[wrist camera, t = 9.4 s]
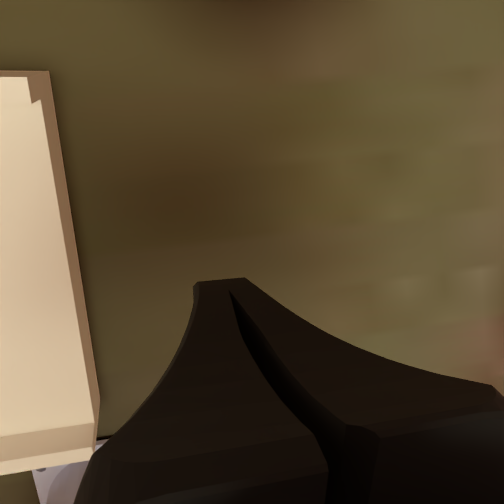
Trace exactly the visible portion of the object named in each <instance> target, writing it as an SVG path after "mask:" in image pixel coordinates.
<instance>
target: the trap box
mask: <svg viewBox="0 0 504 504" xmlns="http://www.w3.org/2000/svg"><path fill="white" fill-rule="evenodd" d="M99 407H100V394H99V388H98V382H97V375H96V369H95V362H94V356H93V350H92V343H91V337H90V330H89V324H88V318H87V311H86V305H85V298H84V292H83V286H82V279H81V273H80V266H79V260H78V254H77V247H76V241H75V234H74V228H73V222H72V215H71V209H70V202H69V196H68V190H67V183H66V177H65V170H64V164H63V158H62V151H61V145H60V138H59V132H58V126H57V119H56V113H55V106H54V100H53V94H52V87H51V81H50V74H49V71H16V70H0V475H5V474H11V473H17V472H23V471H29V470H35V469H41V468H47V467H53V466H58V465H64V464H70V463H76V462H82V461H88V460H90V458H91V456H92V454H93V453H94V452H95V447H96V437H97V427H98V417H99Z"/></svg>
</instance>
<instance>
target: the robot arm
mask: <svg viewBox="0 0 504 504" xmlns="http://www.w3.org/2000/svg"><path fill="white" fill-rule="evenodd" d="M193 296H194V303H193V309H192V312H191V316H190V319H189V323H188V326H187V328H186V331H185V333H184V336H183V338H182V341H181V343H180V346H179V348H178V350H177V352H176V354H175V356H174V358H173V359H172V361H171V363H170V365H169V367H168V368H167V370H166V371H165V373H164V374H163V376H162V378H161V379H160V381H159V382H158V384H157V385H156V387H155V388H154V389H153V391H152V392H151V393H150V395H149V396H148V397H147V399H146V400H145V401H144V402H143V403H142V404H141V406H140V407H139V408H138V409H137V410H136V412H135V413H134V414H133V415H132V416H131V417H130V419H129V420H128V421H127V422H126V423H125V424H124V425H123V426H122V427H121V428H120V429H119V430H118V431H117V432H116V433H115V434H114V435H113V436H112V437H111V438H110V439H105V440H99V441H96V447H95V452H94V453H93V454H92V456H91V458H90V460H88V461H82V462H76V463H70V464H64V465H58V466H53V467H47V468H41V469H35V470H32V474H33V478H34V481H35V485H36V489H37V493H38V497H39V501H40V504H504V396H502V395H501V394H500V393H499V392H498V391H497V390H496V389H495V388H494V387H493V386H492V385H488V384H483V383H479V382H474V381H469V380H464V379H459V378H455V377H450V376H445V375H440V374H436V373H433V372H429V371H426V370H422V369H418V368H415V367H411V366H408V365H405V364H402V363H398V362H395V361H392V360H389V359H386V358H384V357H381V356H378V355H376V354H373V353H371V352H368V351H365V350H363V349H360V348H358V347H356V346H353V345H351V344H349V343H347V342H345V341H343V340H341V339H338V338H336V337H334V336H332V335H330V334H328V333H326V332H324V331H323V330H321V329H319V328H317V327H315V326H314V325H312V324H310V323H309V322H307V321H305V320H304V319H302V318H301V317H299V316H297V315H296V314H294V313H293V312H291V311H290V310H288V309H287V308H285V307H284V306H283V305H281V304H280V303H278V302H277V301H276V300H274V299H273V298H271V297H270V296H269V295H267V294H266V293H265V292H263V291H262V290H261V289H259V288H258V287H257V286H256V285H254V284H253V283H252V282H250V281H249V280H247V279H246V278H234V279H223V280H212V281H202V282H197V283H196V284H195V285H194V286H193Z"/></svg>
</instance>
